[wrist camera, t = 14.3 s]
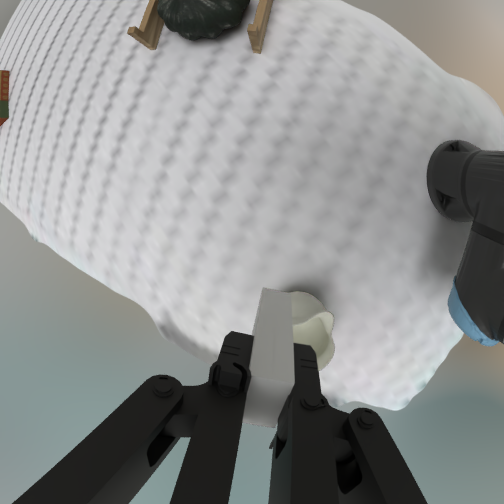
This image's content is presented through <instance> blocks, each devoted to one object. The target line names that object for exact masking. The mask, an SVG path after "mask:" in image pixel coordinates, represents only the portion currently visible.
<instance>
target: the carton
mask: <svg viewBox="0 0 504 504" xmlns="http://www.w3.org/2000/svg"><path fill="white" fill-rule="evenodd" d="M9 72H10V71H5V70H0V126H1V125H2V124H3V123H4V122H5V121H6V120H7V119H8V118H9V109H8V94H9Z"/></svg>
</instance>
